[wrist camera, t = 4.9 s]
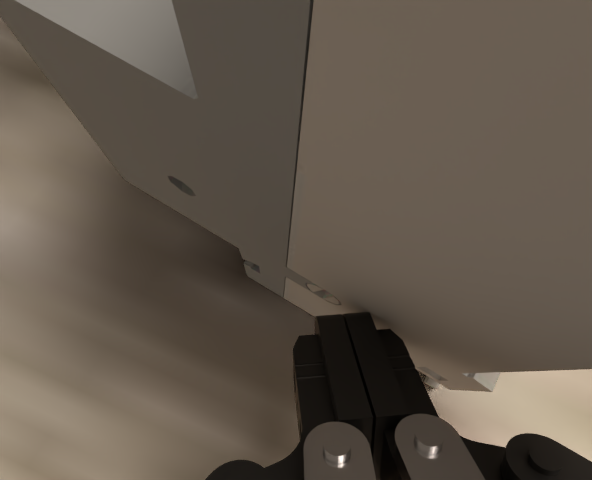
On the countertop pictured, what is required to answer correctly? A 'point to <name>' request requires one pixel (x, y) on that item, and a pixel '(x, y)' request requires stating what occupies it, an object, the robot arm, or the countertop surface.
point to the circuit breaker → (361, 155)
